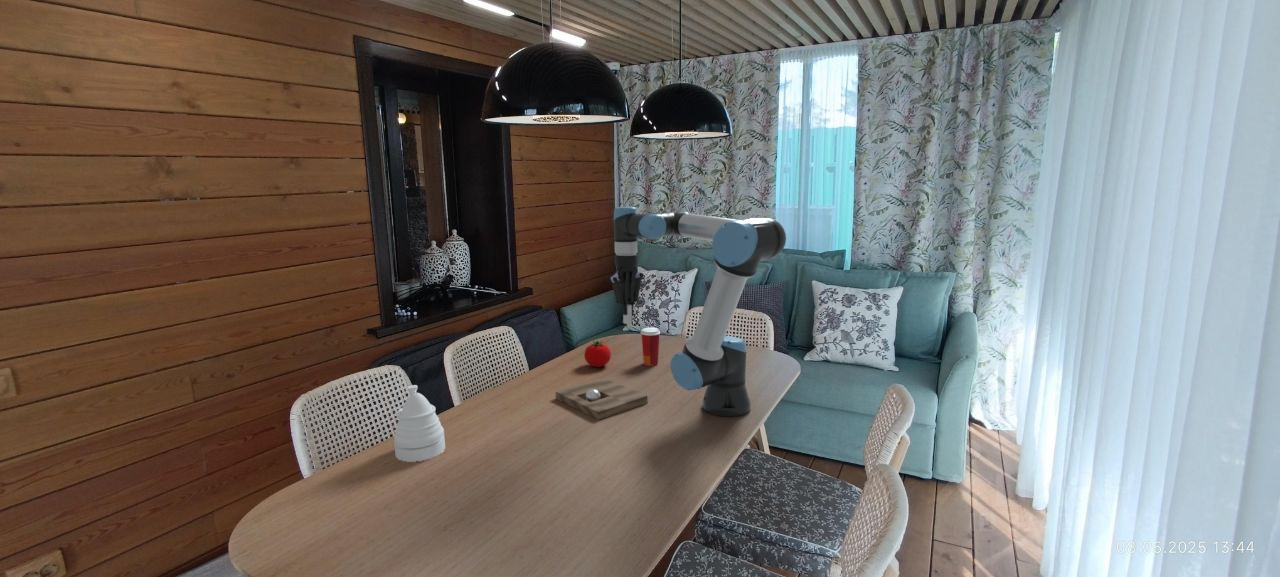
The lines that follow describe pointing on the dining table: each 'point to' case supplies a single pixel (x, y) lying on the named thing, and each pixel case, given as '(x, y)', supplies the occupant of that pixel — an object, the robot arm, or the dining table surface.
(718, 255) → the robot arm
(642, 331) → the paper cup
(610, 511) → the dining table surface
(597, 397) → the steel ball
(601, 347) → the tomato
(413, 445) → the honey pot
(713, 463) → the dining table surface
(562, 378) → the dining table surface
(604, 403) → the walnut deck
